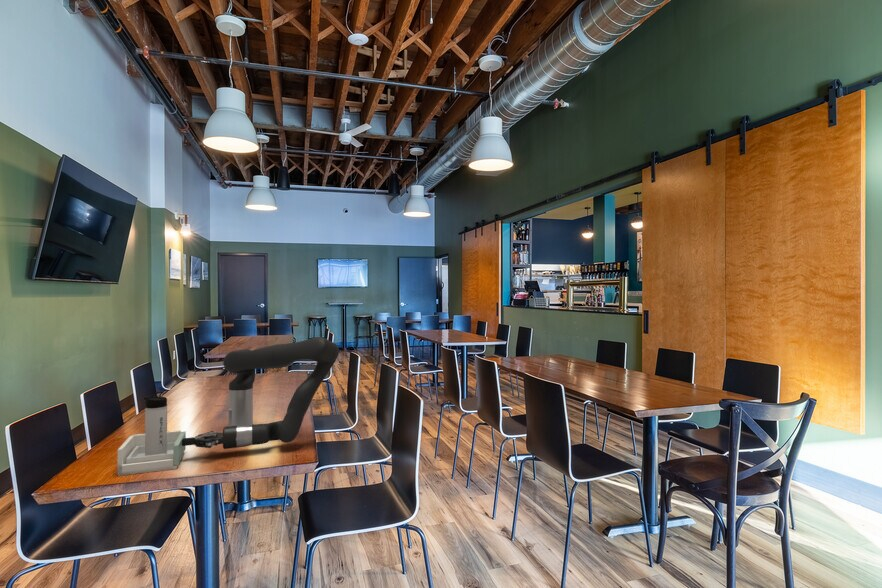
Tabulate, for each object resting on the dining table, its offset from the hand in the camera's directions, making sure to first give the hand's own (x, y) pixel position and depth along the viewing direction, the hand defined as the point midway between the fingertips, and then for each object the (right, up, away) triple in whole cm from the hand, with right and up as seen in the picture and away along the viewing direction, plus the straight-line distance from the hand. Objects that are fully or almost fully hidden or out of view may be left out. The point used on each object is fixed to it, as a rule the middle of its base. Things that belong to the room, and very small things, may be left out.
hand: (182, 442), depth 158 cm
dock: (-8, -6, -3) cm, 10 cm away
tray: (-7, -5, -3) cm, 9 cm away
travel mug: (-7, -4, -3) cm, 9 cm away
